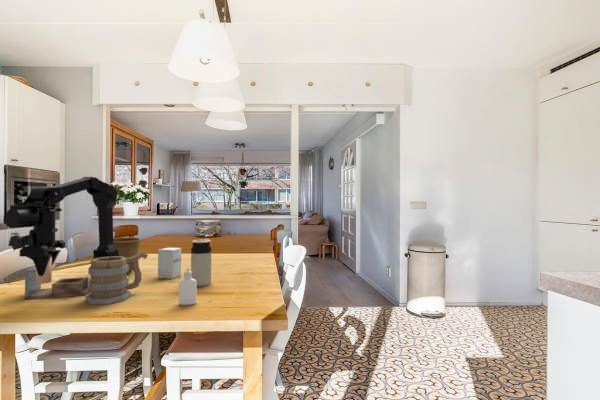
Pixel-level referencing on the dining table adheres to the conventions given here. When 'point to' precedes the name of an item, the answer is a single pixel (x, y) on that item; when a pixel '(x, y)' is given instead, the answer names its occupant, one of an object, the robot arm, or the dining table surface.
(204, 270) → the travel mug
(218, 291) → the dining table surface
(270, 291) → the dining table surface
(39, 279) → the peg
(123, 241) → the plant pot
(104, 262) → the tankard
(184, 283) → the eye dropper bottle
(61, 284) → the socket block
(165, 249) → the supplement box
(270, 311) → the dining table surface
